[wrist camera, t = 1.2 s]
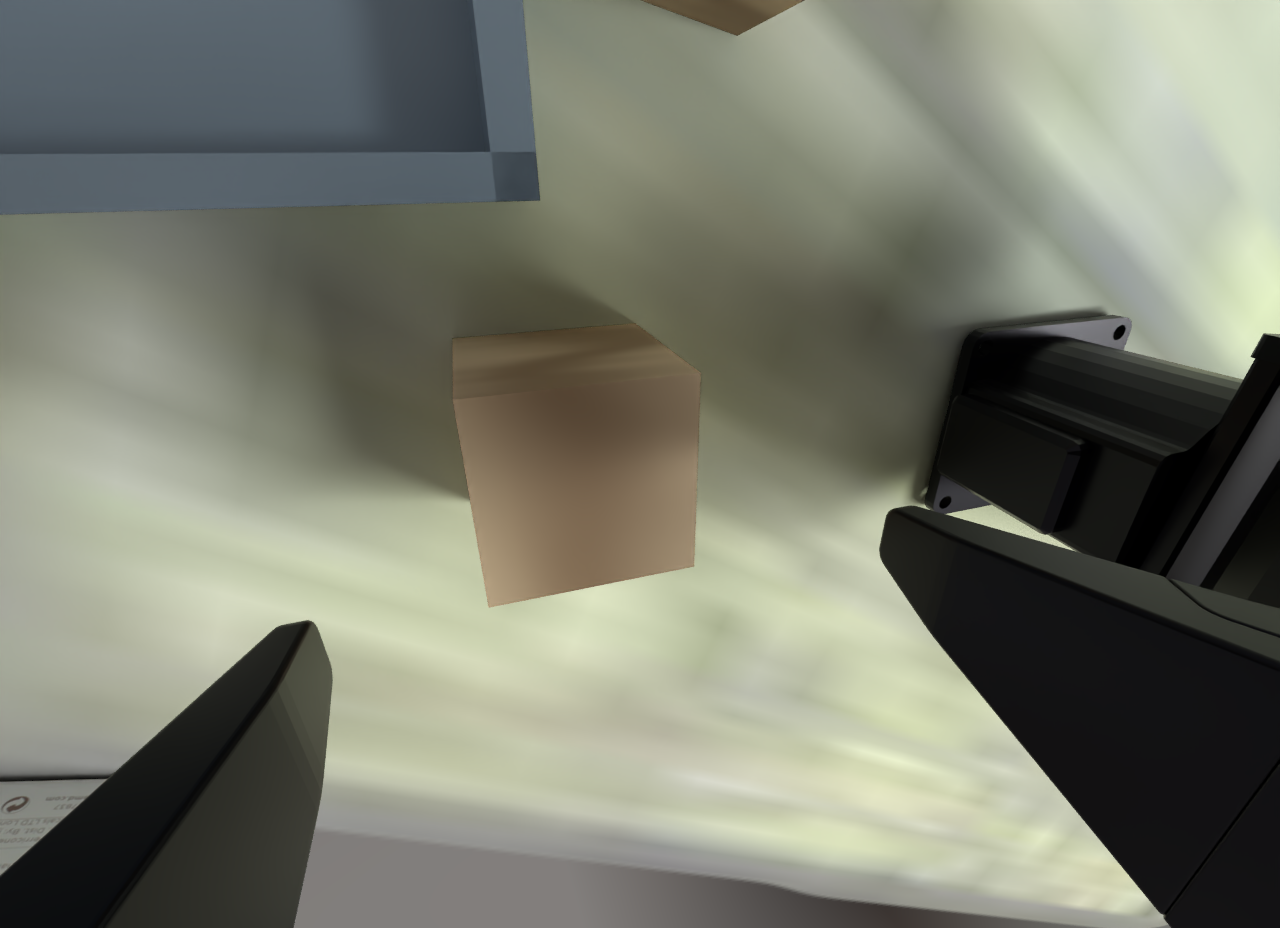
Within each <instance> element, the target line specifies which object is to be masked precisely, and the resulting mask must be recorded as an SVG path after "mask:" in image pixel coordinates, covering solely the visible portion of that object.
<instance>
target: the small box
mask: <svg viewBox="0 0 1280 928" xmlns="http://www.w3.org/2000/svg"><path fill="white" fill-rule="evenodd" d="M106 780H107V779H84V780H51V781H13V782H0V875H1V874H2V873H3V872H4V871H5V870H7V869H8V868H9V867H10V866H11V865H12V864H13V863H14V862H15V861H17V860H18V859H19V858H20V857H21V856H22V855H23V854H24V853H26V852H27V851H28V850H29V849H30V848H31V847H32V846H33V845H34V844H36V843H37V842H38V841H39V840H40V839H41V838H42V837H43V836H44V835H46V834H47V833H48V832H49V831H50V830H51V829H52V828H53V827H54V826H56V825H57V824H58V823H59V822H60V821H61V820H62V819H63V818H64V817H66V816H67V815H68V814H69V813H70V812H71V811H72V810H73V809H74V808H76V807H77V806H78V805H79V804H80V803H81V802H82V801H83V800H84V799H86V798H87V797H88V796H89V795H90V794H91V793H92V792H93V791H94V790H96V789H97V788H98V787H99V786H100V785H101V784H102V783H103V782H105V781H106Z"/></svg>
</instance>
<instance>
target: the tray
mask: <svg viewBox="0 0 1280 928" xmlns="http://www.w3.org/2000/svg"><path fill="white" fill-rule="evenodd" d="M538 200H540V194H539V183H538V171H537V160H536V148H535V137H534V125H533V114H532V103H531V91H530V80H529V68H528V57H527V45H526V34H525V23H524V11H523V0H0V215H2V214H40V213H79V212H117V211H155V210H193V209H232V208H270V207H308V206H346V205H385V204H423V203H461V202H499V201H538Z"/></svg>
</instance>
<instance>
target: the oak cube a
mask: <svg viewBox="0 0 1280 928" xmlns="http://www.w3.org/2000/svg"><path fill="white" fill-rule="evenodd" d="M700 383H701V373H700V372H699V371H698V370H696V369H695V368H694V367H692V366H691V365H690V364H688V363H687V362H686V361H684V360H683V359H682V358H680V357H679V356H678V355H677V354H675V353H674V352H673V351H671V350H670V349H669V348H667V347H666V346H665V345H663V344H662V343H661V342H659V341H658V340H657V339H655V338H654V337H653V336H652V335H650V334H649V333H648V332H646V331H645V330H644V329H642V328H641V327H640V326H638V325H637V324H636V323H632V324H620V325H608V326H595V327H583V328H571V329H559V330H547V331H535V332H523V333H511V334H499V335H486V336H474V337H462V338H453V406H454V411H455V417H456V423H457V428H458V434H459V440H460V446H461V451H462V457H463V463H464V469H465V474H466V480H467V486H468V491H469V497H470V503H471V509H472V514H473V520H474V526H475V532H476V537H477V543H478V549H479V554H480V560H481V566H482V572H483V577H484V583H485V589H486V595H487V600H488V606H489V607H494V606H499V605H504V604H509V603H514V602H519V601H524V600H529V599H534V598H539V597H544V596H549V595H554V594H559V593H564V592H569V591H574V590H579V589H584V588H589V587H594V586H599V585H604V584H609V583H614V582H619V581H624V580H629V579H634V578H639V577H644V576H649V575H654V574H659V573H664V572H669V571H674V570H679V569H684V568H689V567H694V555H695V526H696V497H697V469H698V440H699V411H700Z"/></svg>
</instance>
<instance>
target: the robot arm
mask: <svg viewBox="0 0 1280 928" xmlns="http://www.w3.org/2000/svg"><path fill="white" fill-rule="evenodd" d="M1131 327H1132V323H1131V320H1130V319H1129V318H1126V317H1121V316H1116V315H1107V316H1097V317H1088V318H1078V319H1068V320H1059V321H1049V322H1039V323H1029V324H1020V325H1010V326H1000V327H991V328H981V329H977V330H974V331H973V332H972V333H970V334H969V335H968V337H967V338H966V339H965V341H964V344H963V346H962V350H961V354H960V358H959V363H958V367H957V371H956V375H955V379H954V383H953V387H952V391H951V396H950V400H949V404H948V408H947V412H946V416H945V420H944V424H943V428H942V433H941V437H940V441H939V445H938V449H937V453H936V457H935V461H934V465H933V470H932V474H931V478H930V482H929V486H928V490H927V494H926V498H925V505H926V507H927V508H929V509H930V510H928V509H924V508H921V507H917V506H905V507H899V508H894V509H892V510H890V511H889V512H888V514H887V515H886V519H885V524H884V528H883V533H882V538H881V543H880V548H879V552H880V558H881V560H882V562H883V564H884V566H885V567H886V569H887V570H888V572H889V573H890V574H891V576H892V577H893V579H894V580H895V582H896V583H897V585H898V586H899V588H900V589H901V591H902V592H903V594H904V595H905V597H906V598H907V600H908V601H909V603H910V604H911V606H912V607H913V608H914V610H915V611H916V613H917V614H918V616H919V617H920V619H921V620H922V622H923V623H924V625H925V626H926V627H927V629H928V630H929V632H930V633H931V634H932V636H933V637H934V638H935V640H936V641H937V642H938V643H939V645H940V646H941V647H942V648H943V650H944V651H945V652H946V653H947V654H948V656H949V657H950V658H951V659H952V661H953V662H954V663H955V664H956V665H957V667H958V668H959V669H960V670H961V672H962V673H963V674H964V675H965V676H966V678H967V679H968V680H969V681H970V682H971V684H972V685H973V686H974V687H975V689H976V690H977V691H978V692H979V693H980V695H981V696H982V697H983V698H984V700H985V701H986V702H987V703H988V704H989V706H990V707H991V708H992V709H993V711H994V712H995V713H996V714H997V715H998V717H999V718H1000V719H1001V720H1002V721H1003V723H1004V724H1005V725H1006V726H1007V728H1008V729H1009V730H1010V731H1011V732H1012V734H1013V735H1014V736H1015V737H1016V739H1017V740H1018V741H1019V742H1020V743H1021V745H1022V746H1023V747H1024V748H1025V749H1026V751H1027V752H1028V753H1029V754H1030V756H1031V757H1032V758H1033V759H1034V760H1035V762H1036V763H1037V764H1038V765H1039V767H1040V768H1041V769H1042V770H1043V771H1044V773H1045V774H1046V775H1047V776H1048V777H1049V779H1050V780H1051V781H1052V782H1053V784H1054V785H1055V786H1056V787H1057V788H1058V790H1059V791H1060V792H1061V793H1062V795H1063V796H1064V797H1065V798H1066V799H1067V801H1068V802H1069V803H1070V804H1071V806H1072V807H1073V808H1074V809H1075V810H1076V812H1077V813H1078V814H1079V815H1080V816H1081V818H1082V819H1083V820H1084V821H1085V823H1086V824H1087V825H1088V826H1089V827H1090V829H1091V830H1092V831H1093V832H1094V834H1095V835H1096V836H1097V837H1098V838H1099V840H1100V841H1101V842H1102V843H1103V844H1104V846H1105V847H1106V848H1107V849H1108V851H1109V852H1110V853H1111V854H1112V855H1113V857H1114V858H1115V859H1116V860H1117V862H1118V863H1119V864H1120V865H1121V866H1122V868H1123V869H1124V870H1125V871H1126V872H1127V874H1128V875H1129V876H1130V877H1131V879H1132V880H1133V881H1134V882H1135V883H1136V885H1137V886H1138V887H1139V888H1140V890H1141V891H1142V892H1143V893H1144V894H1145V896H1146V897H1147V898H1148V899H1149V901H1150V902H1151V903H1152V904H1153V905H1154V907H1155V908H1156V909H1157V910H1158V911H1159V913H1161V914H1163V915H1164V916H1163V917H1164V919H1165V921H1166V922H1167V923H1168V924H1169V926H1170V927H1171V928H1280V334H1266V333H1264V334H1263V335H1262V337H1261V339H1260V341H1259V342H1258V344H1257V346H1256V348H1255V350H1254V351H1253V353H1252V355H1251V357H1252V358H1255V360H1254V362H1253V364H1252V365H1251V367H1250V369H1249V371H1248V373H1247V374H1246V376H1245V378H1244V380H1242V379H1238V378H1234V377H1230V376H1226V375H1222V374H1218V373H1214V372H1210V371H1205V370H1201V369H1197V368H1193V367H1189V366H1185V365H1181V364H1177V363H1173V362H1169V361H1165V360H1161V359H1156V358H1152V357H1148V356H1144V355H1140V354H1136V353H1132V352H1128V351H1124V347H1125V345H1126V342H1127V339H1128V337H1129V334H1130V331H1131ZM981 344H982V345H981ZM980 346H981V348H980ZM979 348H980V349H979ZM987 505H993V506H995V507H997V508H998V509H1000V510H1002V511H1003V512H1005V513H1007V514H1009V515H1010V516H1012V517H1014V518H1015V519H1017V520H1019V521H1020V522H1022V523H1024V524H1025V525H1027V526H1029V527H1031V528H1032V529H1034V530H1036V531H1037V532H1039V533H1041V534H1045V535H1046V534H1047V535H1049V536H1051V537H1053V538H1054V539H1056V540H1058V541H1059V542H1061V543H1063V544H1065V545H1066V546H1068V547H1070V548H1071V549H1073V550H1075V551H1077V552H1075V551H1072V550H1068V549H1065V548H1061V547H1058V546H1054V545H1051V544H1047V543H1044V542H1040V541H1037V540H1033V539H1030V538H1026V537H1023V536H1019V535H1016V534H1012V533H1009V532H1005V531H1002V530H998V529H995V528H991V527H988V526H984V525H981V524H977V523H974V522H970V521H967V520H963V519H960V518H956V517H953V516H949V515H945V514H947V513H952V512H957V511H962V510H967V509H972V508H977V507H982V506H987ZM931 510H932V511H931ZM332 681H333V679H332V668H331V664H330V661H329V658H328V655H327V653H326V650H325V647H324V644H323V642H322V639H321V636H320V633H319V630H318V628H317V626H316V625H315V624H314V622H312V621H309V620H306V621H301V622H296V623H290V624H285V625H281V626H278V627H276V628H275V629H274V630H272V631H271V632H270V633H269V634H268V635H267V636H266V637H265V638H264V639H262V640H261V641H260V642H259V643H258V644H257V645H256V646H255V647H253V648H252V649H251V650H250V651H249V652H248V653H247V654H246V655H245V656H243V657H242V658H241V659H240V660H239V661H238V662H237V663H236V664H235V665H233V666H232V667H231V668H230V669H229V670H228V671H227V672H226V673H225V674H223V675H222V676H221V677H220V678H219V679H218V680H217V681H216V682H215V683H213V684H212V685H211V686H210V687H209V688H208V689H207V690H206V691H205V692H203V693H202V694H201V695H200V696H199V697H198V698H197V699H196V700H195V701H193V702H192V703H191V704H190V705H189V706H188V707H187V708H186V709H185V710H183V711H182V712H181V713H180V714H179V715H178V716H177V717H176V718H175V719H173V720H172V721H171V722H170V723H169V724H168V725H167V726H166V727H165V728H163V729H162V730H161V731H160V732H159V733H158V734H157V735H156V736H155V737H153V738H152V739H151V740H150V741H149V742H148V743H147V744H146V745H145V746H143V747H142V748H141V749H140V750H139V751H138V752H137V753H136V754H135V755H133V756H132V757H131V758H130V759H129V760H128V761H127V762H126V763H125V764H123V765H122V766H121V767H120V768H119V769H118V770H117V771H116V772H115V773H113V774H112V775H111V776H110V777H109V778H108V779H107V780H106V781H105V782H103V783H102V784H101V785H100V786H99V787H98V788H97V789H96V790H94V791H93V792H92V793H91V794H90V795H89V796H88V797H87V798H86V799H84V800H83V801H82V802H81V803H80V804H79V805H78V806H77V807H76V808H74V809H73V810H72V811H71V812H70V813H69V814H68V815H67V816H66V817H64V818H63V819H62V820H61V821H60V822H59V823H58V824H57V825H56V826H54V827H53V828H52V829H51V830H50V831H49V832H48V833H47V834H46V835H44V836H43V837H42V838H41V839H40V840H39V841H38V842H37V843H36V844H34V845H33V846H32V847H31V848H30V849H29V850H28V851H27V852H26V853H24V854H23V855H22V856H21V857H20V858H19V859H18V860H17V861H15V862H14V863H13V864H12V865H11V866H10V867H9V868H8V869H7V870H5V871H4V872H3V873H2V874H1V875H0V928H294V923H295V918H296V914H297V908H298V904H299V899H300V895H301V890H302V886H303V881H304V876H305V872H306V867H307V862H308V858H309V853H310V848H311V843H312V839H313V834H314V830H315V825H316V820H317V816H318V811H319V805H320V800H321V794H322V787H323V778H324V769H325V758H326V747H327V736H328V725H329V715H330V704H331V693H332Z"/></svg>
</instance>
